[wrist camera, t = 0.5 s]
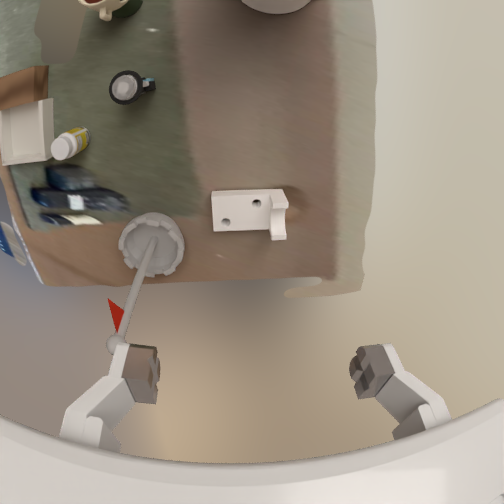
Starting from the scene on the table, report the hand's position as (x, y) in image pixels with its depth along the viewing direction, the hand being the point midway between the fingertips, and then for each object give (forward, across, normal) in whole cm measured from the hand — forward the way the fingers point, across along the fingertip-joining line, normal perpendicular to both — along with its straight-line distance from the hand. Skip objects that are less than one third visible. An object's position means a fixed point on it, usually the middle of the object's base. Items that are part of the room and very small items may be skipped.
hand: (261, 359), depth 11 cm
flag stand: (+45, +15, +21) cm, 52 cm away
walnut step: (+45, +43, -12) cm, 63 cm away
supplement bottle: (+45, +30, 0) cm, 54 cm away
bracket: (+45, -3, +13) cm, 47 cm away
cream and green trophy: (+45, +22, -26) cm, 56 cm away
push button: (+45, +18, -9) cm, 49 cm away
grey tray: (+45, +43, -3) cm, 62 cm away
